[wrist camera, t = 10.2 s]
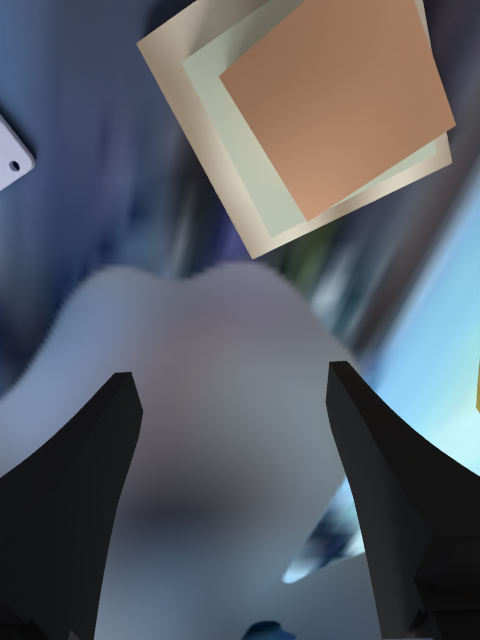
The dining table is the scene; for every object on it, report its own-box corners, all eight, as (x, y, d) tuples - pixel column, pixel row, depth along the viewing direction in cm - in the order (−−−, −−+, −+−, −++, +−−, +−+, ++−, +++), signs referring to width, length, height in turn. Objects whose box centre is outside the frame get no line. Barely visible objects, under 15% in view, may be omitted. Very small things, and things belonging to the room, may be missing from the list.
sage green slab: (268, 225, 19) (271, 238, 18) (187, 65, 15) (181, 62, 14) (417, 147, 17) (436, 153, 16) (366, -60, 13) (385, -81, 12)
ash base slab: (251, 246, 22) (252, 259, 20) (146, 47, 17) (136, 43, 15) (433, 156, 19) (452, 162, 18) (377, -115, 14) (396, -143, 12)
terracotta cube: (290, 188, 16) (307, 222, 12) (225, 80, 14) (218, 76, 10) (394, 115, 15) (455, 125, 11) (339, -19, 13) (389, -74, 8)
